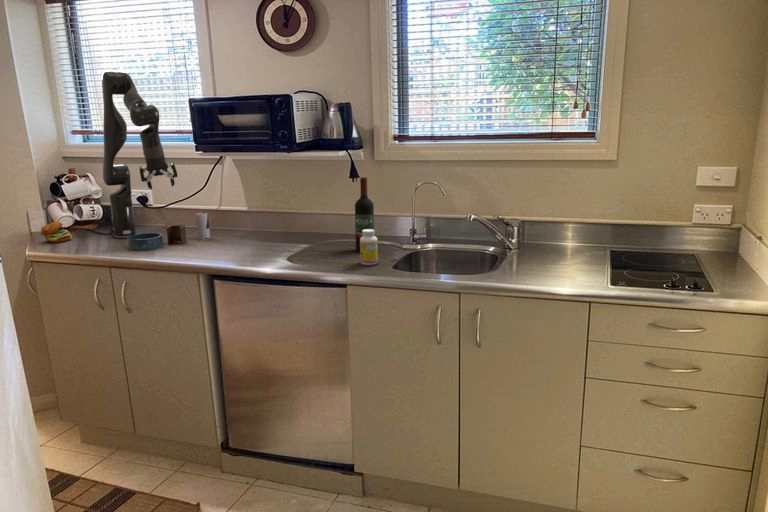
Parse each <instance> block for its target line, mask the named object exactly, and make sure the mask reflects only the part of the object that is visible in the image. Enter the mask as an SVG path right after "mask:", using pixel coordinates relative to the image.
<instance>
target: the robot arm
mask: <svg viewBox="0 0 768 512" xmlns="http://www.w3.org/2000/svg"><path fill="white" fill-rule="evenodd" d="M101 90H102V91H101V92H102V101H103V102H102V103H103V128H102V129H103V133H102V135H103V161H102V180H103V183H104V184H105V185H106V186H109V187H110V186H120V187H119V188H118V189H117V190H115V191H113V192H111V193H110V194H109V202H110V212H111V217H110V218H111V226H110V232H108V233H107V232H106V233H105V232H101V231H97V230H96V229H93V228H87V227H72V228H71V230H83V231H84V230H85V231H86V230H87V231H92V232H94V233H96V234H100V235H103V236H105V235H106V236H107V235H112V234H113V237H114V238H116V239H127V237H128V236H130V235H134V234H137V230H136V222H135V215H134V214H135V213H134V206H133V205H134V204H133V199H132V184H131V183H132V181H131V171H130V168H129V166H128V165H127V164H125V163H124V164H122V163H120V164H114V163H115V159H116V157H117V155H118V154H119V152H120V151H121V149H122V148H123V147H124V145H125V144H126V141H127V137H128V125H127V122H126V120H125V118H124V117H123V116H122V114H121V113H120V111H119V110H118V108H117V107H116V105H115V103H114V95H118V96H123V99H122V101H123V104H124V106H125V107H126V109H127V110H128V112H129V118H130V121H131V123H132V124H133V125H134V126H136V127H144V126H146V127H144V128H142V129H141V130H140V131H139V138H140V142H141V147H142V153H143V156H144V160H145V165H146V166H142V165H140V166H139V167H138V168H139V176H140V181H141V182H143V183H144V182H145V183H146V184H147V188H148V189H149V190H153V185H152V181H151V180H152V179H153V177H159V176H163V175H164V176H165V177H168V179H169V180H170V185H171V187H174V186H175V184H176V183H175V178H178V172H177V168H176V165H175V162H174V161H172V162H170V163H167V161H166V156H165V152H164V149H163V145H162V142H161V137H160V133H159V131H160V130H159V129H160V128H159V126H160V111H159V109H158V108H157V107H156V106H155V105H153V104H147V102H146V101H145V100H144V99H143V98H142V97H141V95H140V94H139V92H138V90H137V87H136V84H135V82H134V80H133V78H132V77H131V75H130V74H129V73H127V72H124V71H109V70H107V71H106V70H105V71H103V72H102V74H101ZM169 169H170V170H172V172H173V173H172V172H171V171H169ZM146 171H147V172H148V174H147V175H146V176H145V173H146Z"/></svg>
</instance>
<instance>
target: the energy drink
mask: <svg viewBox="0 0 768 512" xmlns="http://www.w3.org/2000/svg"><path fill="white" fill-rule="evenodd" d="M195 224H196V234H197V235H196V236H197V240H198V241H207V240H210V239H211V233H210V232H211V231H210V220H209V214H208V212H197V213H195Z"/></svg>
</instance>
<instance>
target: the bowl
mask: <svg viewBox="0 0 768 512" xmlns="http://www.w3.org/2000/svg"><path fill="white" fill-rule="evenodd" d="M126 239H127V248H128V250H129V251H132V252H147V251H154V250H158V249H161V248H163V247H164V240H163V234H162V233H160V232H139V233H136V234H134V235H130V236H128V237H127V238H126Z"/></svg>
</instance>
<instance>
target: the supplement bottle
mask: <svg viewBox="0 0 768 512" xmlns="http://www.w3.org/2000/svg"><path fill="white" fill-rule="evenodd" d="M375 233H376V231H375V229H374V230H373V229H365V230H362V234H363V237H361V238H360V252H359V257H360V258H359V261H360V262H359V263H360V264H361V265H363V266H376V265H377V264H378V262H379V253H378V251H379V250H378V249H379V248H378V246H379V245H378V244H379V243H378V237H377V236H375V235H376V234H375Z"/></svg>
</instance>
